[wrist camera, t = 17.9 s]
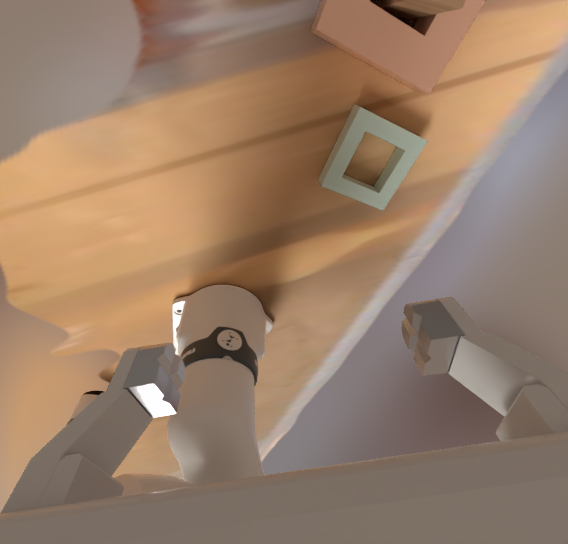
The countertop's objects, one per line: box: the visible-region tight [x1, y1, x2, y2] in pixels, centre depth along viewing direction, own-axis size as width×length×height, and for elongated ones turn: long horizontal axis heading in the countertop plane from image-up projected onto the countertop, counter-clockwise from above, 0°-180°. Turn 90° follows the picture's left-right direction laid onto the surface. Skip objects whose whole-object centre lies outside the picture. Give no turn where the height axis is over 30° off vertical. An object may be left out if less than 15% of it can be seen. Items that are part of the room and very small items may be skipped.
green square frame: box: [318, 104, 428, 211], centre depth 39 cm, size 10×10×2 cm
